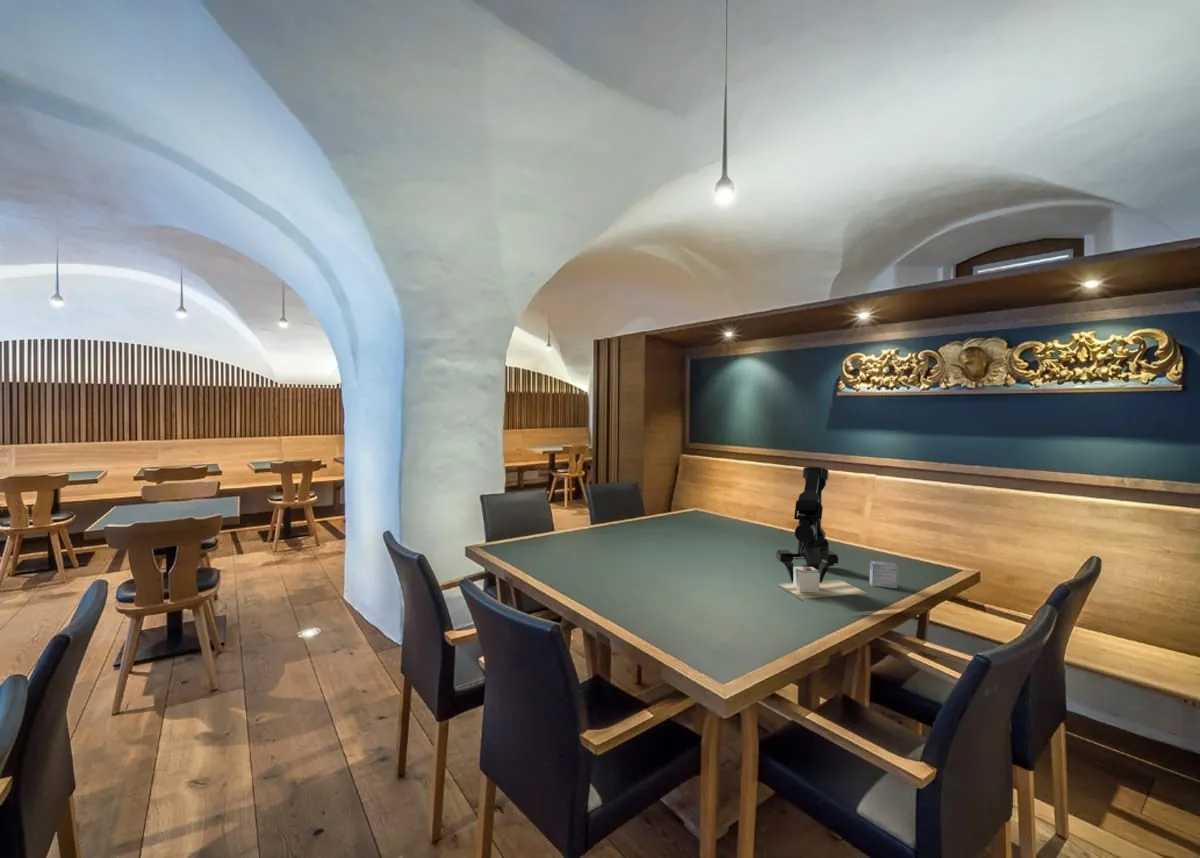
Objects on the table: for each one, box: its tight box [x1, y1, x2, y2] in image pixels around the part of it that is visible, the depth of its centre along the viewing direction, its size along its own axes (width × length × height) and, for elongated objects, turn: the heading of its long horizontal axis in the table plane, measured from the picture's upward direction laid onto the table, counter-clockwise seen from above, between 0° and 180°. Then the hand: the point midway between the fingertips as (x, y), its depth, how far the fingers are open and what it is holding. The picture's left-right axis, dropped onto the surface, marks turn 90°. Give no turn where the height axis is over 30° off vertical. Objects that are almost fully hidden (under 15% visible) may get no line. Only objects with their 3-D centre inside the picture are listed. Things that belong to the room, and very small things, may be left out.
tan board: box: [777, 579, 867, 602], centre depth 182 cm, size 14×24×4 cm, turn 103°
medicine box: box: [868, 560, 899, 589], centre depth 186 cm, size 8×4×9 cm, turn 74°
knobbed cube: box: [792, 566, 820, 593], centre depth 181 cm, size 6×6×7 cm
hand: (806, 582), depth 181 cm, fingers open, 9 cm apart
